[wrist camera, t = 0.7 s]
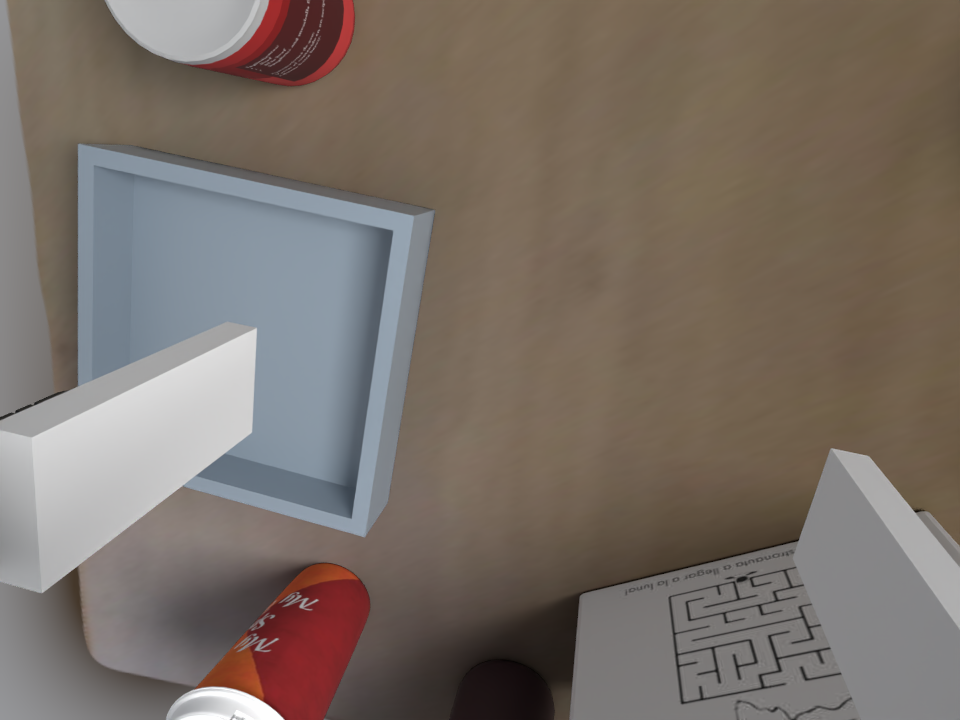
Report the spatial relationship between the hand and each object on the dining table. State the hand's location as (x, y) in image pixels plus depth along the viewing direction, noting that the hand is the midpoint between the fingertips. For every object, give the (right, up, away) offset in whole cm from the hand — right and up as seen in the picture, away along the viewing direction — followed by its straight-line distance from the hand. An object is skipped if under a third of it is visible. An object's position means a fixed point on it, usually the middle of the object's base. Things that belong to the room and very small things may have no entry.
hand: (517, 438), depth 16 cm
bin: (-15, +4, +29) cm, 33 cm away
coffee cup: (-12, -16, +35) cm, 40 cm away
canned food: (-11, +21, +24) cm, 34 cm away
